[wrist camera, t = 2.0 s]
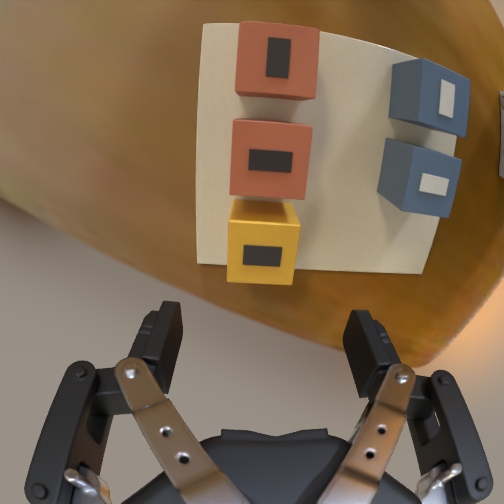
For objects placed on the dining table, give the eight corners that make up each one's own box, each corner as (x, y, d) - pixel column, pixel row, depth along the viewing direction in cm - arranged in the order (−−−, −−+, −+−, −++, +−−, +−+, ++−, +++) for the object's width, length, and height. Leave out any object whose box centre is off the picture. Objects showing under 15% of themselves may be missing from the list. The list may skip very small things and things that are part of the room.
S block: (232, 199, 21) (228, 221, 17) (292, 202, 21) (301, 226, 17) (231, 251, 23) (226, 283, 19) (285, 254, 23) (292, 286, 19)
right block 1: (392, 63, 16) (422, 57, 12) (437, 80, 16) (471, 80, 12) (387, 117, 18) (418, 121, 14) (432, 130, 18) (466, 138, 14)
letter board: (204, 25, 15) (203, 23, 15) (458, 77, 16) (462, 77, 15) (198, 260, 24) (197, 263, 24) (419, 271, 25) (421, 274, 24)
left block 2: (237, 118, 18) (232, 119, 14) (300, 123, 18) (313, 126, 14) (233, 178, 20) (228, 195, 16) (294, 182, 20) (304, 201, 16)
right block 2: (385, 137, 18) (414, 146, 14) (430, 148, 19) (463, 160, 15) (376, 191, 21) (401, 211, 17) (420, 198, 21) (449, 219, 17)
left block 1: (242, 38, 15) (239, 20, 11) (306, 44, 15) (320, 28, 12) (238, 96, 17) (234, 91, 13) (302, 101, 18) (316, 98, 14)
